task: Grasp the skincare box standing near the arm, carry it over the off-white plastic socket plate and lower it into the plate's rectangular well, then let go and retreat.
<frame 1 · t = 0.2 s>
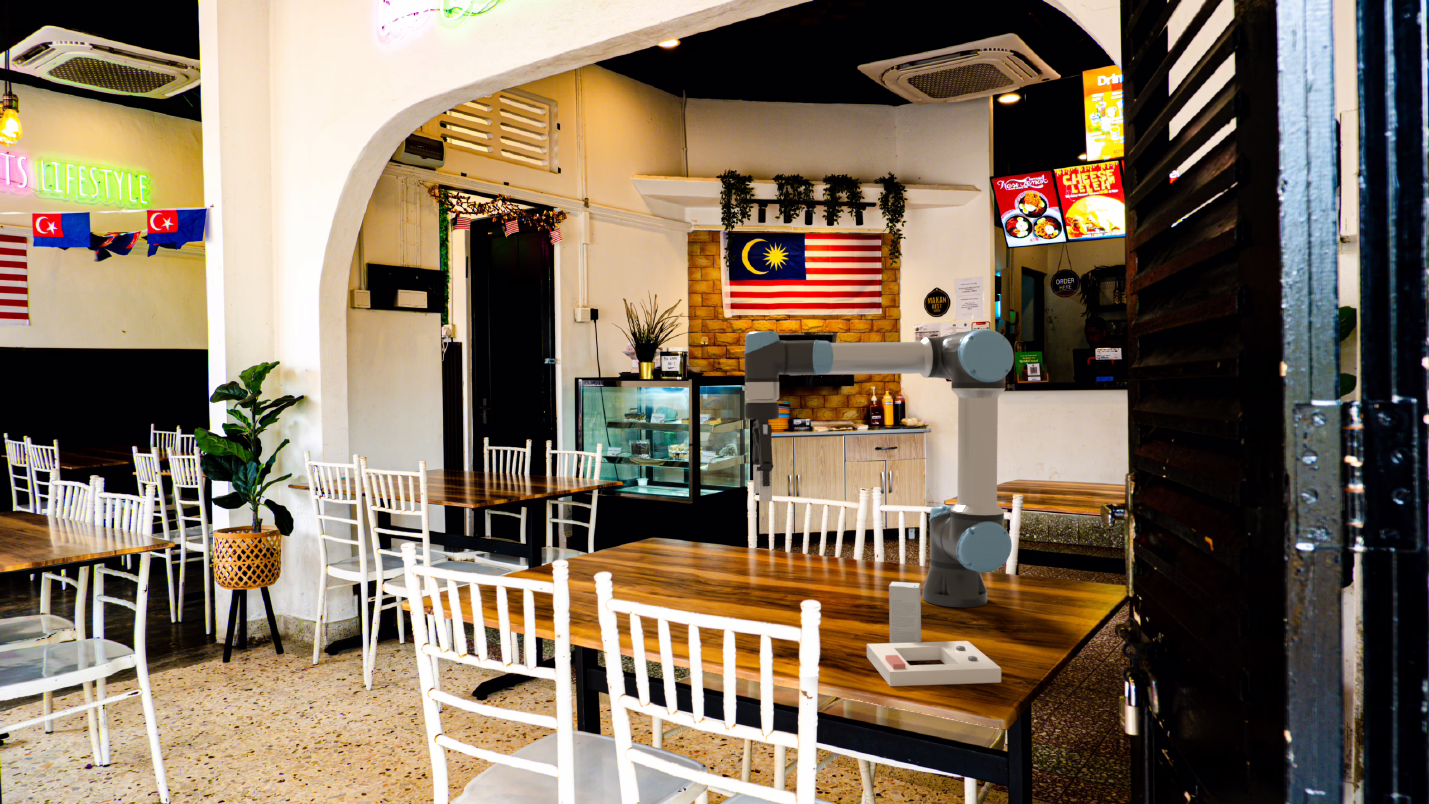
hand: (762, 497, 189), 28 cm above the table, fingers open, 13 cm apart
socket plate: (930, 668, 158), on the table
skincare box: (905, 643, 174), on the table
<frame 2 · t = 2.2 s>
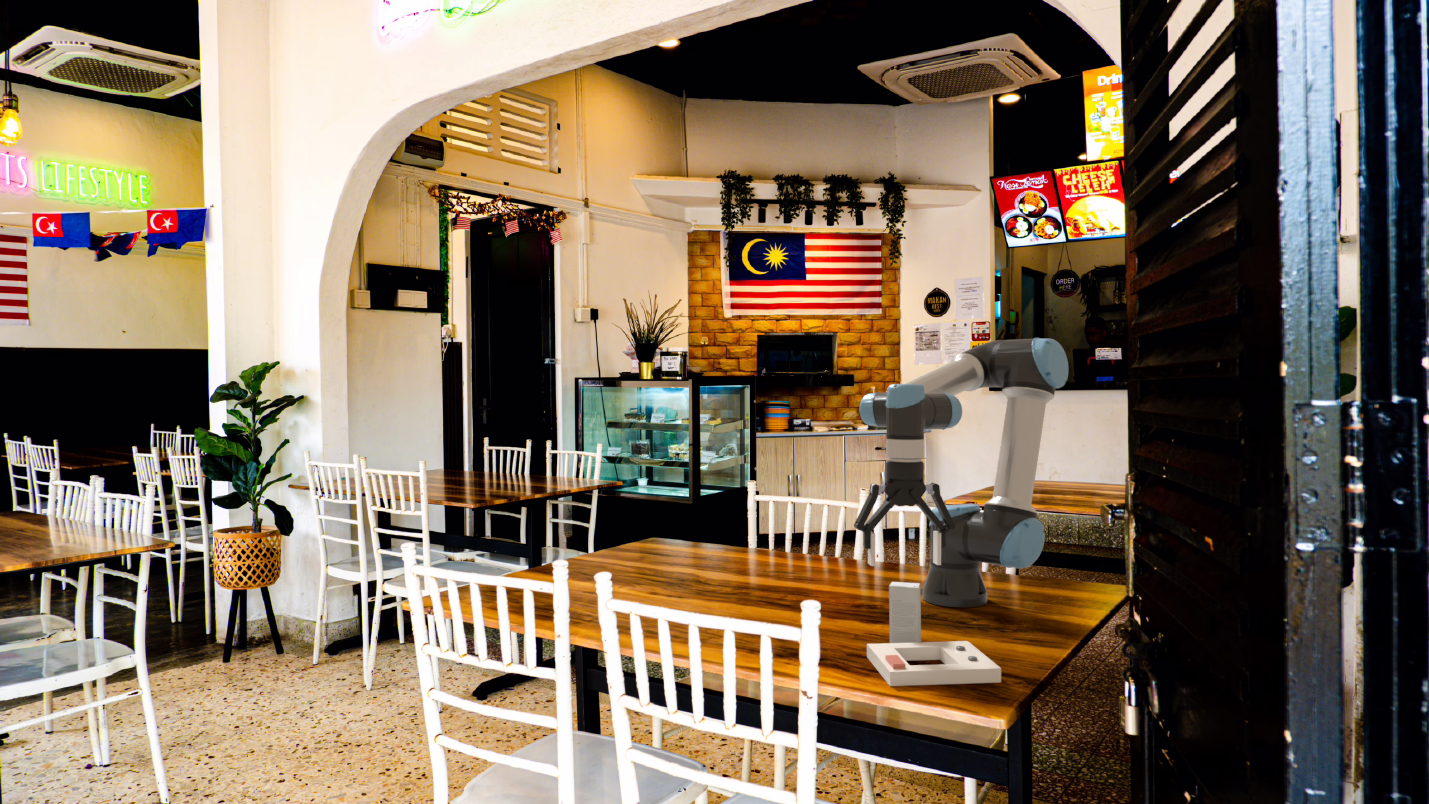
hand: (904, 564, 173), 16 cm above the table, fingers open, 13 cm apart
nothing on the table moved.
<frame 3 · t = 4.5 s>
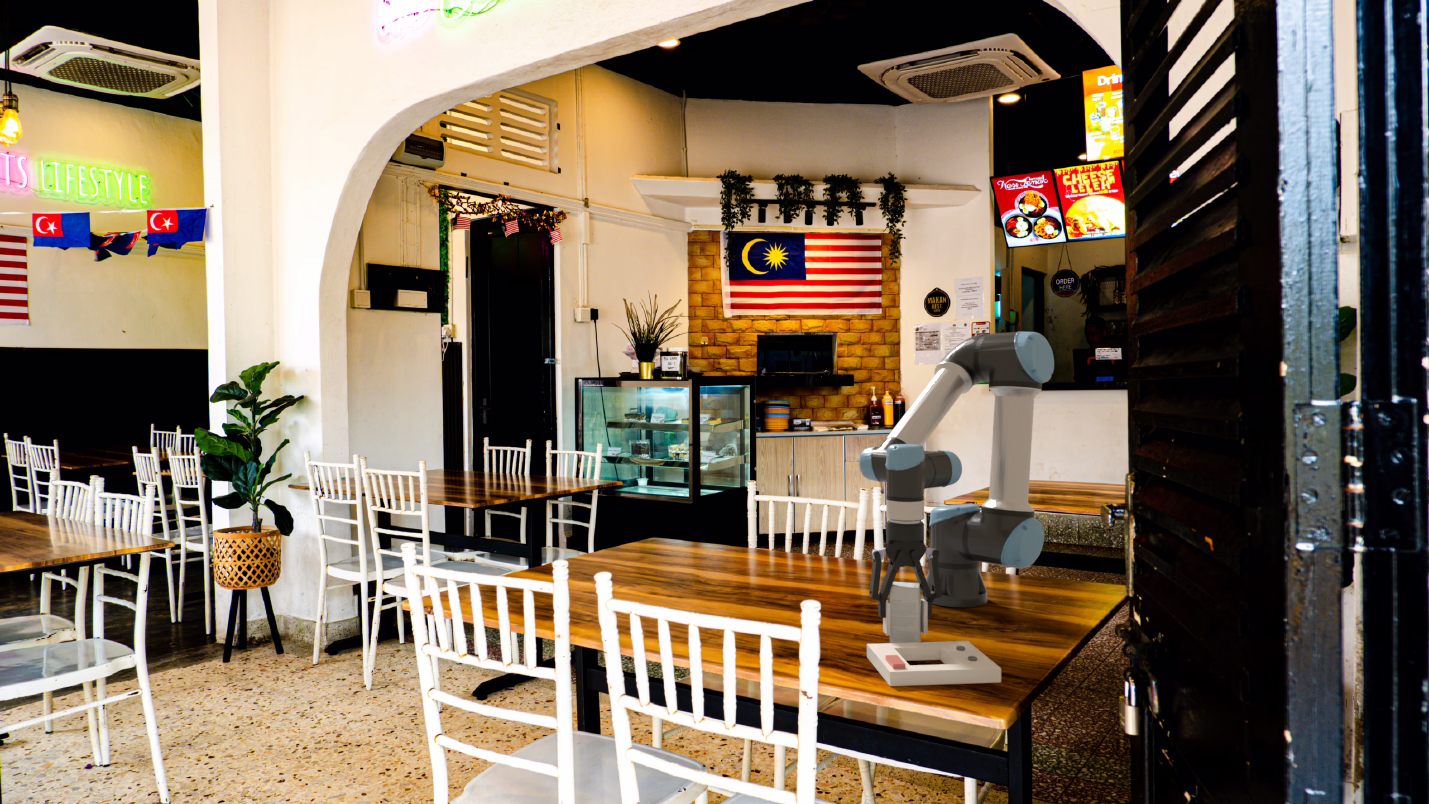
hand: (905, 632, 174), 2 cm above the table, fingers closed on skincare box, 7 cm apart
skincare box: (905, 643, 174), on the table, touching gripper
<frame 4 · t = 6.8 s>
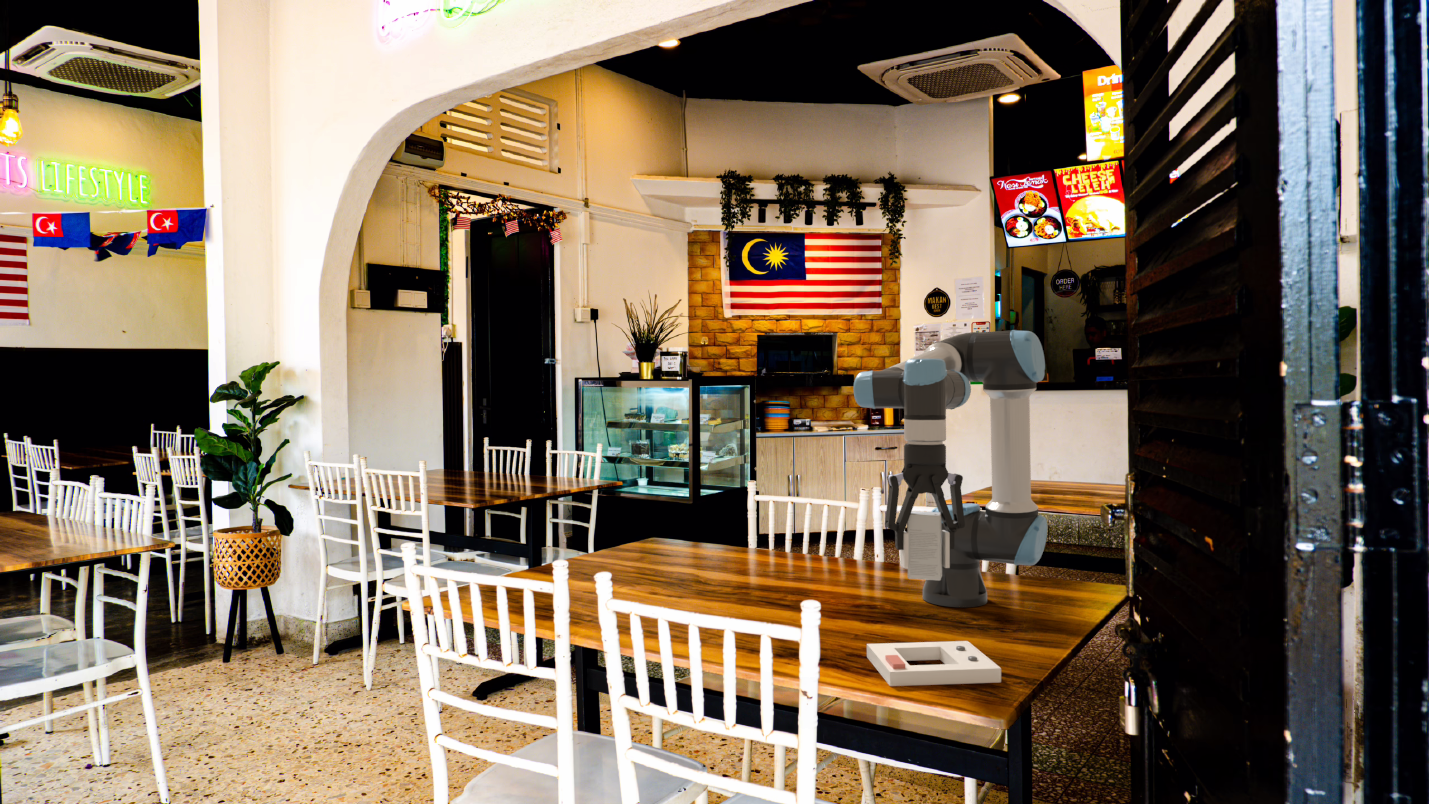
hand: (924, 566, 157), 19 cm above the table, fingers closed on skincare box, 7 cm apart
skincare box: (924, 578, 157), point 17 cm above the table, touching gripper
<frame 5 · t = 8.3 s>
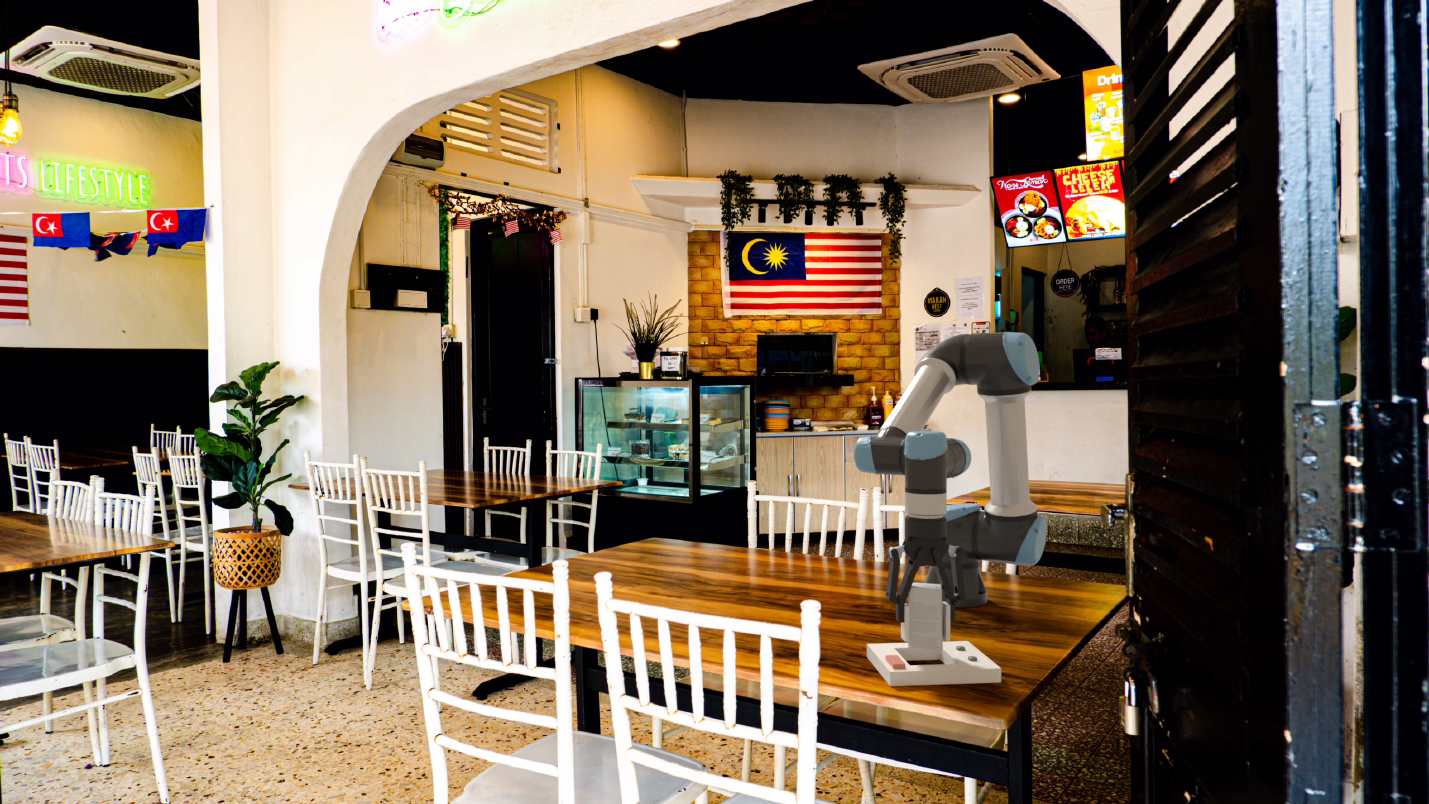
hand: (925, 638, 157), 6 cm above the table, fingers closed on skincare box, 7 cm apart
skincare box: (925, 650, 158), point 3 cm above the table, touching gripper
when the fingers open (4 cm above the table, at t = 9.3 s): skincare box drops 2 cm, resting in socket plate.
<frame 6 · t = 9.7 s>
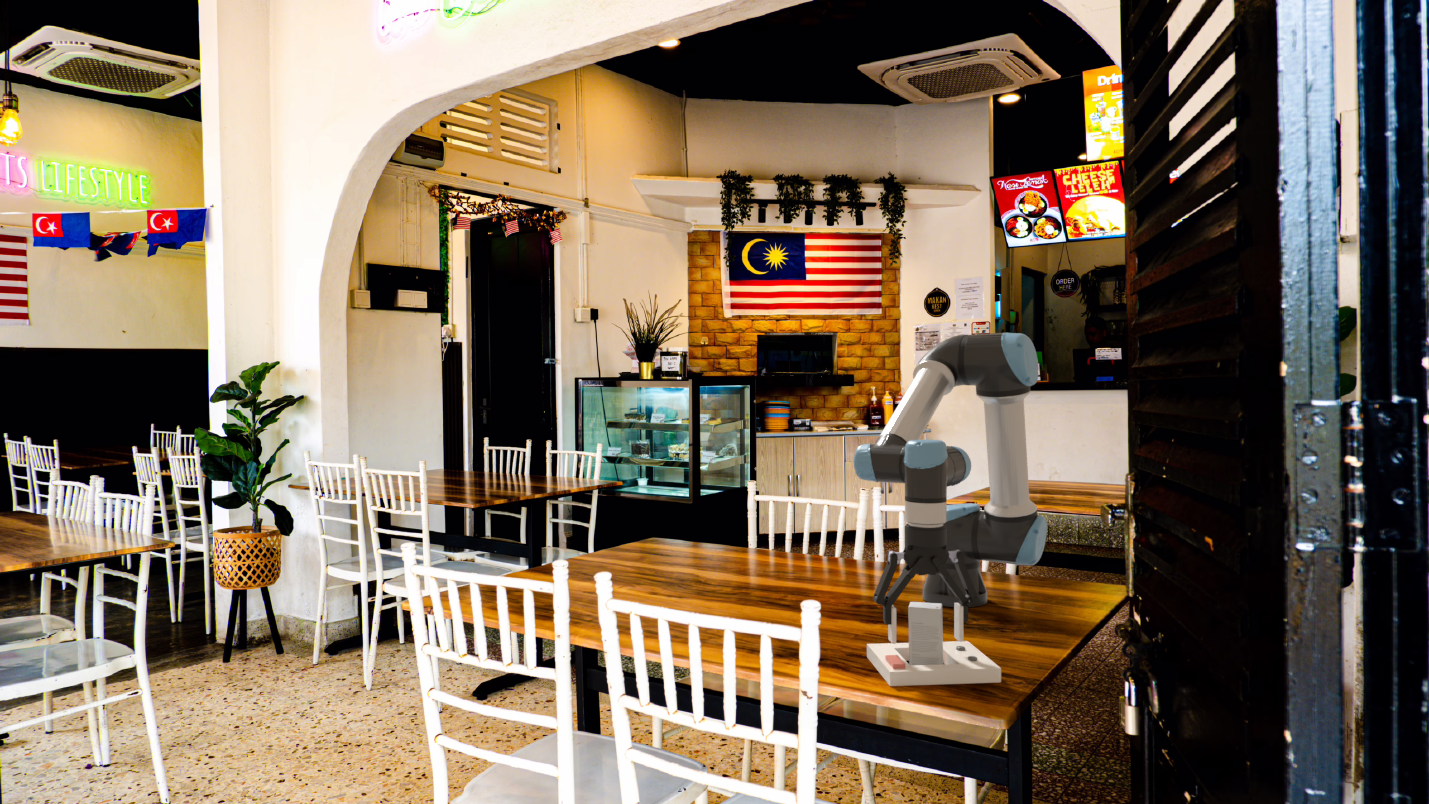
hand: (925, 640, 158), 5 cm above the table, fingers open, 12 cm apart
skincare box: (925, 670, 158), resting in socket plate
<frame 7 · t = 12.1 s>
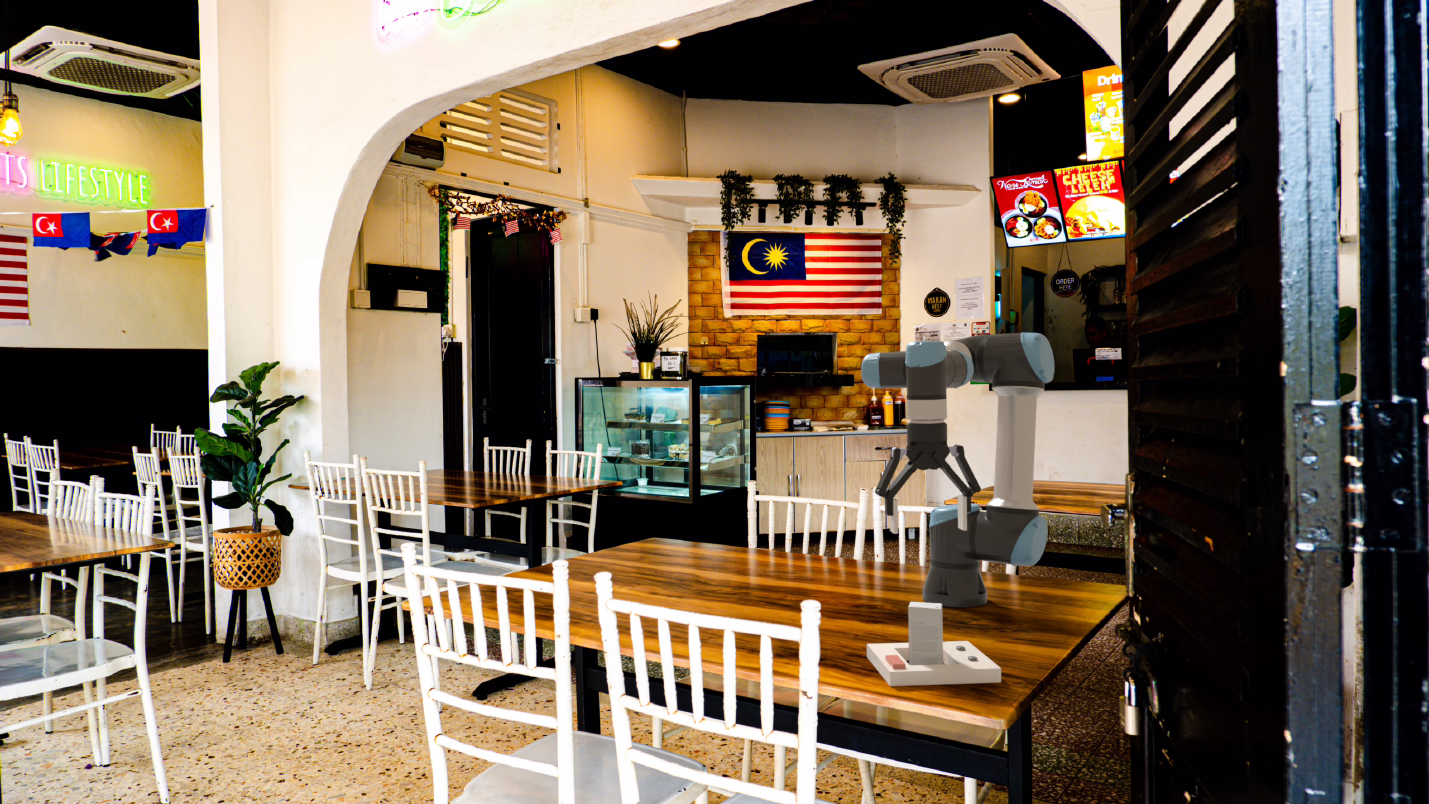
hand: (928, 530, 165), 24 cm above the table, fingers open, 13 cm apart
nothing on the table moved.
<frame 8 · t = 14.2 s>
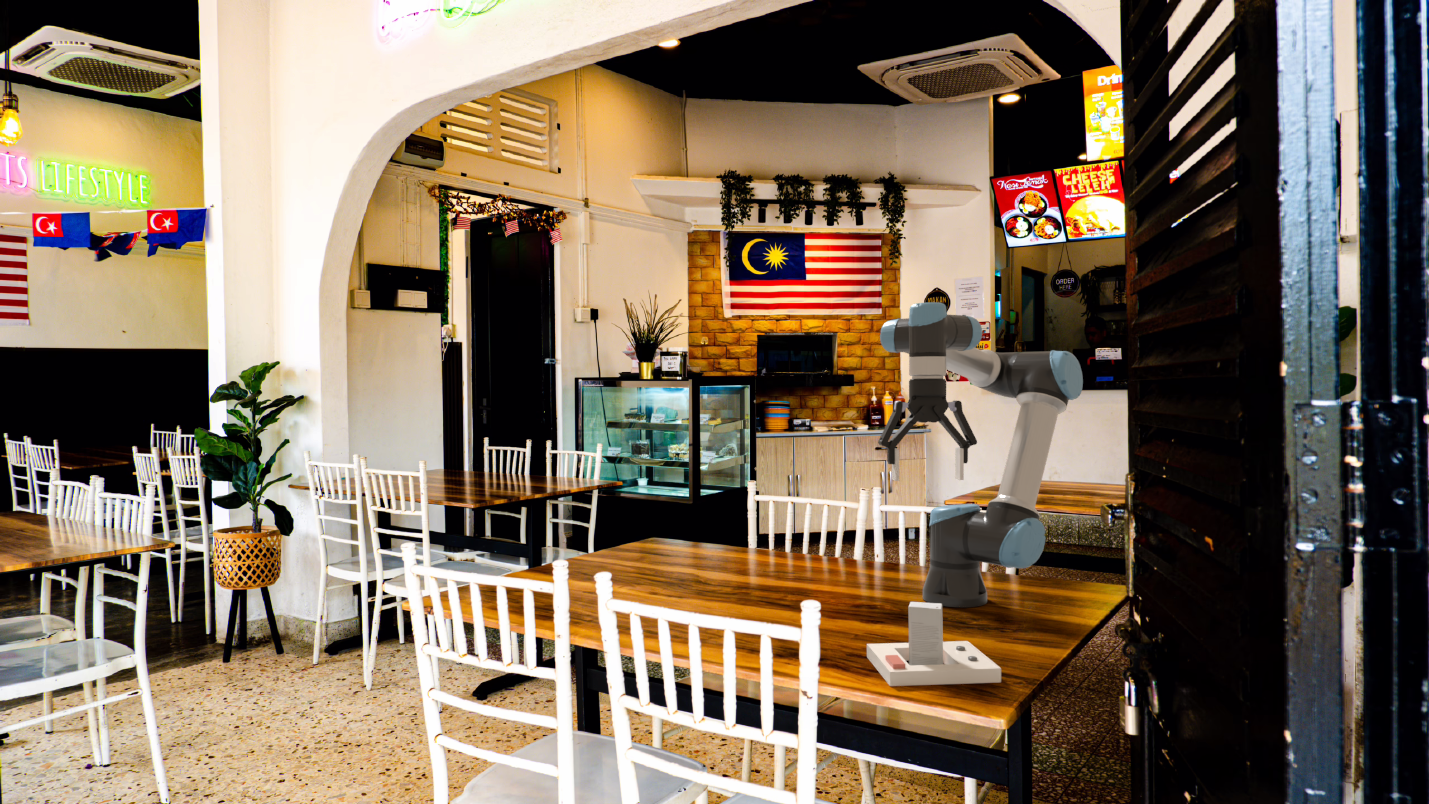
hand: (927, 479, 177), 33 cm above the table, fingers open, 13 cm apart
nothing on the table moved.
at the end: skincare box inside the target area on the socket plate (0.0 cm from its centre), point 0.0 cm above the socket plate's base; skincare box tilted 0°; the gripper is holding nothing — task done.
